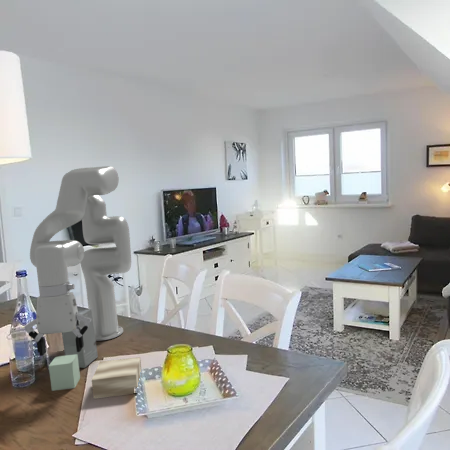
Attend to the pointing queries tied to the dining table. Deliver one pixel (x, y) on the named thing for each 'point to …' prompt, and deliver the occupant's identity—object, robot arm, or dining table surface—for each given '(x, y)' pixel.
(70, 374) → the sage block
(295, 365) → the dining table surface
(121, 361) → the base block
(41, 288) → the robot arm
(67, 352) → the skincare box
